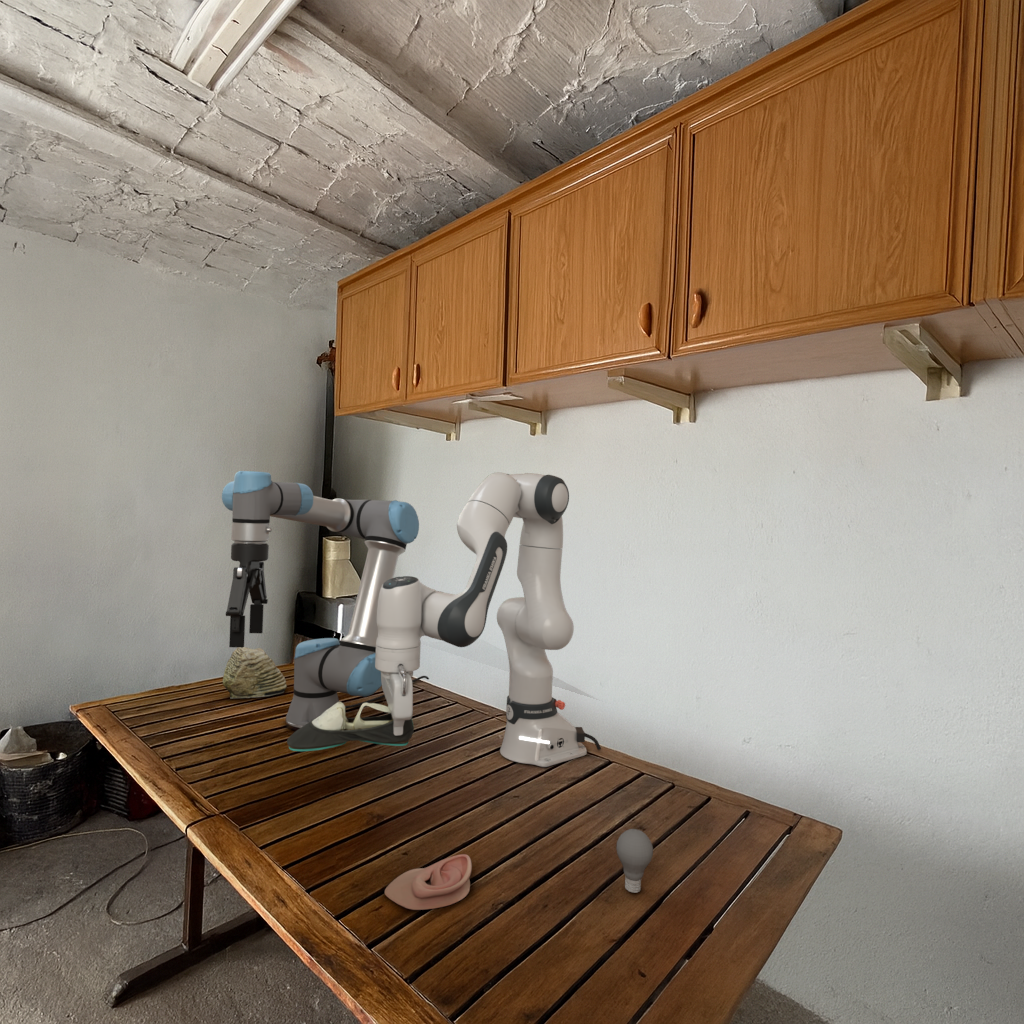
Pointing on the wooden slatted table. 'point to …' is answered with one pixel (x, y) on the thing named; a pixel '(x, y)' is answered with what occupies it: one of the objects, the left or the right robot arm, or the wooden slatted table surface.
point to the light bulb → (634, 857)
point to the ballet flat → (348, 730)
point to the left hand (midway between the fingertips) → (246, 639)
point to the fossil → (252, 674)
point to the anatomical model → (432, 884)
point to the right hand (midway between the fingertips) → (395, 727)
